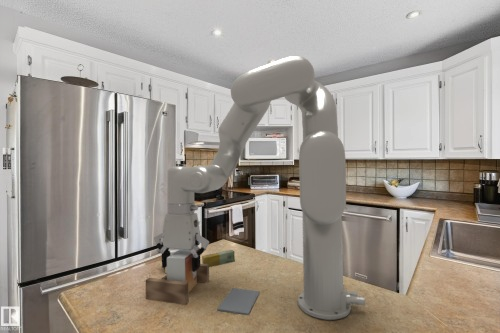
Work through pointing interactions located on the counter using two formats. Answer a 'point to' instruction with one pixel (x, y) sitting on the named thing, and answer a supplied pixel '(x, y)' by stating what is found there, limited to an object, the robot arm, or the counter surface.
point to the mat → (239, 301)
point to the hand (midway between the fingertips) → (180, 267)
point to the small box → (181, 268)
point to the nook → (173, 287)
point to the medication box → (219, 258)
